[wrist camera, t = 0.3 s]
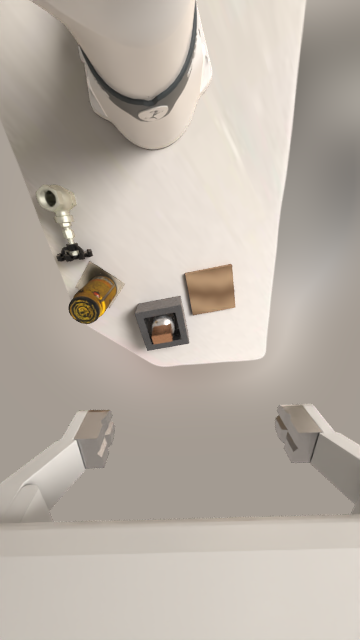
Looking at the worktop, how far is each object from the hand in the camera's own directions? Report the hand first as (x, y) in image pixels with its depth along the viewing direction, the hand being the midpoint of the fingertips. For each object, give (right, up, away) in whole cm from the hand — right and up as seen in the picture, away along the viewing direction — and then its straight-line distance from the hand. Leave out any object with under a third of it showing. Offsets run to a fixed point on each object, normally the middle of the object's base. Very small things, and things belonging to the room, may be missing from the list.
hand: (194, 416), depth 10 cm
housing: (-5, +5, +41) cm, 42 cm away
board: (+6, +12, +38) cm, 40 cm away
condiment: (-18, +13, +37) cm, 43 cm away
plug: (-4, +5, +41) cm, 42 cm away
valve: (-21, +24, +31) cm, 45 cm away
